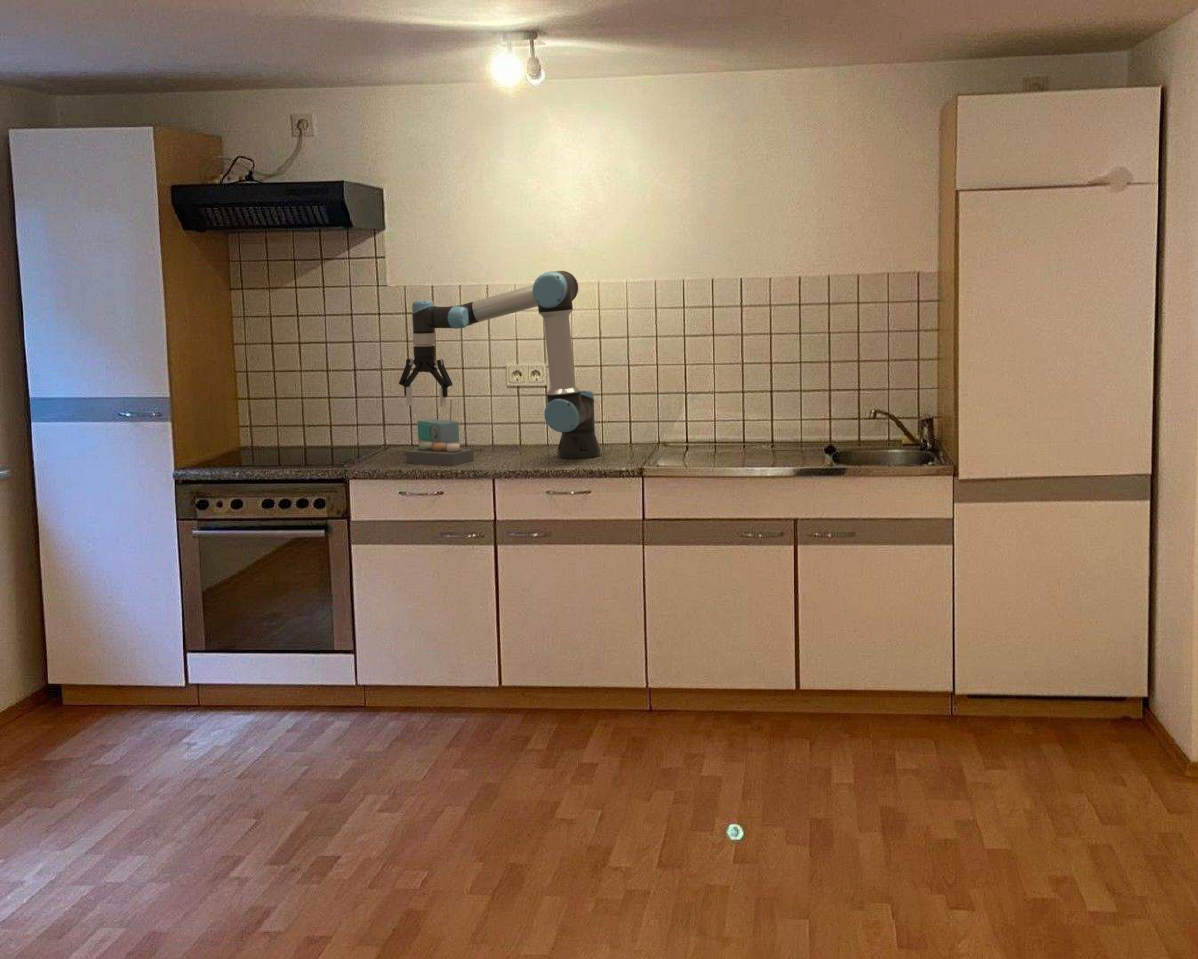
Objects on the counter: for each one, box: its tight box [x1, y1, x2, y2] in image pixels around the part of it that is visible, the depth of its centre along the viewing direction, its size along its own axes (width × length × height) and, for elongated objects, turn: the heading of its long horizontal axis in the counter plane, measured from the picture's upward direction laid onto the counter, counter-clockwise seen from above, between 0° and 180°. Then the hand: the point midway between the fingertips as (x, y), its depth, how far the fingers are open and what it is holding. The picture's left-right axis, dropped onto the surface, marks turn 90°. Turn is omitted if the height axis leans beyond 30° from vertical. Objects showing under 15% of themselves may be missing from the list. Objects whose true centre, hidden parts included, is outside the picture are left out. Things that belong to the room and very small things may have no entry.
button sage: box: [418, 442, 432, 451], centre depth 514 cm, size 4×4×2 cm
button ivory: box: [447, 442, 461, 452], centre depth 507 cm, size 4×4×2 cm
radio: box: [416, 399, 460, 448], centre depth 530 cm, size 16×9×20 cm, turn 37°
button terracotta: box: [433, 443, 446, 451], centre depth 510 cm, size 4×4×2 cm
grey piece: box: [405, 447, 475, 467], centre depth 511 cm, size 20×12×4 cm, turn 59°
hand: (426, 406), depth 515 cm, fingers open, 13 cm apart
